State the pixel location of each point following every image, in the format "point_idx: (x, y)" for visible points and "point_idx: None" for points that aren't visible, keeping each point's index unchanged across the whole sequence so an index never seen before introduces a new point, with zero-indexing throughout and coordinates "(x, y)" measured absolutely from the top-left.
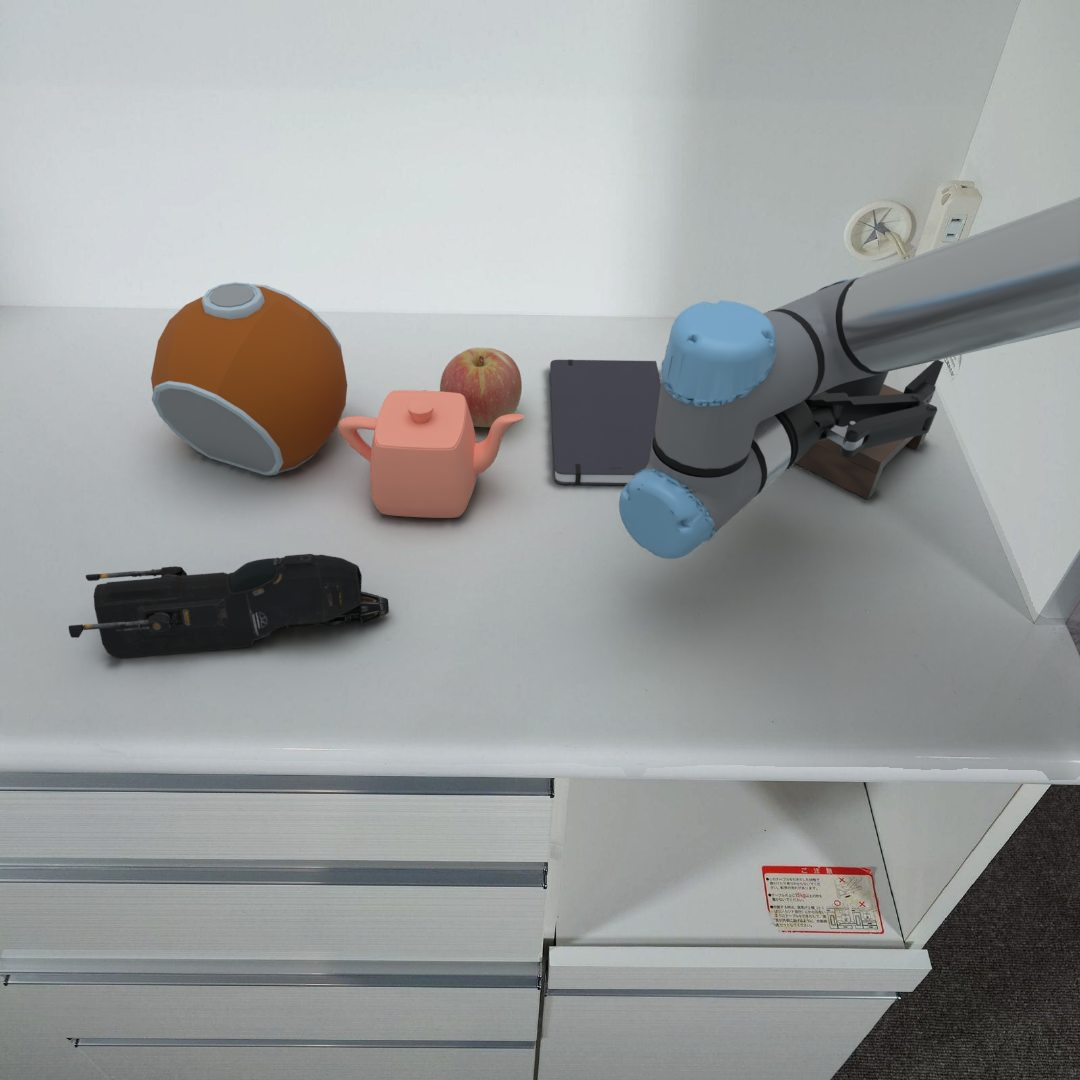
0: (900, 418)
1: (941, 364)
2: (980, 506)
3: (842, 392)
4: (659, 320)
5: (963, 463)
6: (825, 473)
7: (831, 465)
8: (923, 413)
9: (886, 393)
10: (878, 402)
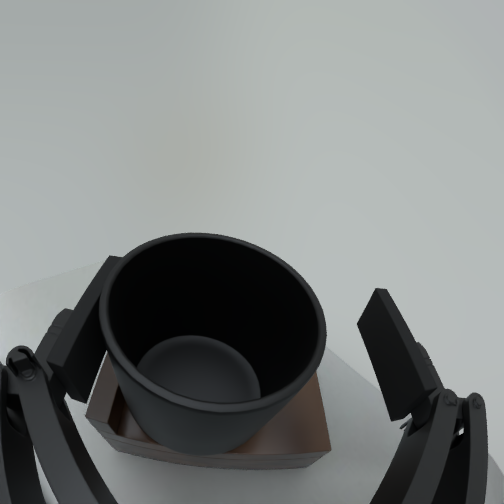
0: (484, 471)
1: (389, 294)
2: (378, 390)
3: (259, 426)
4: (5, 291)
5: (332, 351)
6: (244, 468)
7: (252, 464)
8: (485, 424)
9: None
10: (437, 478)
